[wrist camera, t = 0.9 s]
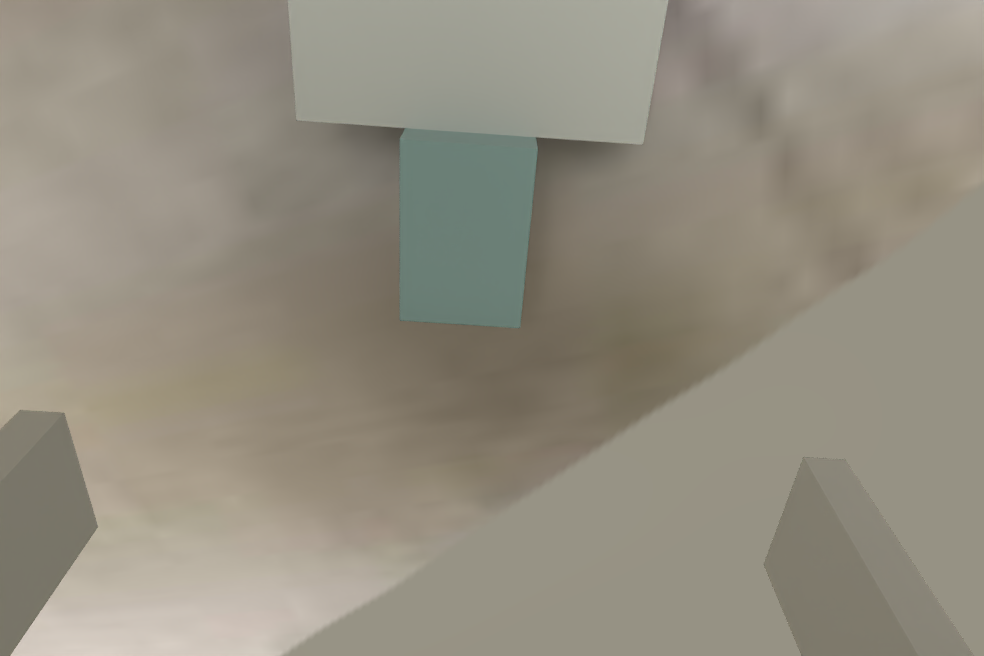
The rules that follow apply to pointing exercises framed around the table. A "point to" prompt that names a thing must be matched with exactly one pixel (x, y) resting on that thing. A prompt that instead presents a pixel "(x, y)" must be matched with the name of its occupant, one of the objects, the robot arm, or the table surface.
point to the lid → (474, 120)
